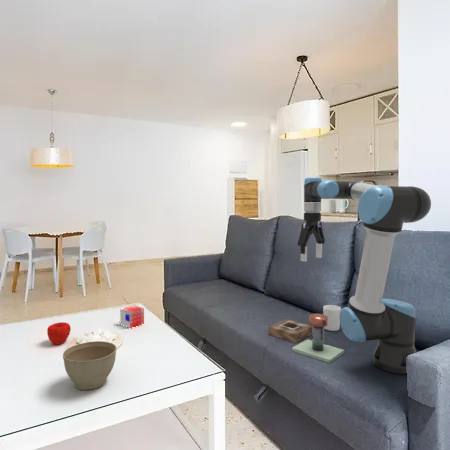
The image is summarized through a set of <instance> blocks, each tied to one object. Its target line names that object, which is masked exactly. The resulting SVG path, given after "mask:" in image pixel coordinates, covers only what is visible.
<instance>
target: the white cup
mask: <svg viewBox="0 0 450 450" xmlns="http://www.w3.org/2000/svg"><path fill="white" fill-rule="evenodd" d="M322 307H323V310H322V311H323V312H322V314H324V315H326V316H328V325H327V326H325V327H324V330H326V331H330V332H337V331H340V326H341V324H340V319H339V314H340V311H341V309H342V308H341V307H340V306H338V305H334V304H326V305H323V306H322Z"/></svg>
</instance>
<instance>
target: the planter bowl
mask: <svg viewBox="0 0 450 450" xmlns="http://www.w3.org/2000/svg"><path fill="white" fill-rule="evenodd" d="M117 350H118V349H117V346H116V344H114V343H113V342H110V341H102V340H101V341H99V340H98V341H97V340H96V341H87V342H82V343H78V344H75V345H72V346H69V348H67V349H65V350H64V351H63V353H62V359H63V364H64V369H65V372H66V374H67V376H68V377H69V379H70V380H71V382H73V383H74V387H75V389H78V390H83V391H87V390H94V389H97V388H99V387H101V386H103V385H105V383H106V382H107V379H108V377H109V375H110V374H111V372H112V371H113V368H114V365H115V362H116V358H117V357H116V353H117Z"/></svg>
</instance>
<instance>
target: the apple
mask: <svg viewBox="0 0 450 450" xmlns="http://www.w3.org/2000/svg"><path fill="white" fill-rule="evenodd" d="M71 328H72V327H71V325H70V324H69V323H68V322H56V323H52V324H50V325H49V326H48V327H47V330H46V332H47V333H46V334H47V338H48V340H49V341H50V343H51V344H52V345H57V346H58V345H61V344H64V343H65V342H66V341H67V340H68V338H69V336H70V334H71V330H72V329H71Z"/></svg>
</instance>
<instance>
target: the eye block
mask: <svg viewBox="0 0 450 450" xmlns="http://www.w3.org/2000/svg"><path fill="white" fill-rule="evenodd" d="M268 335H269V336H272V337H277V338H279V339H283V340H286V341H289V342H292V343H294V344H295V343H296V344H297V343H299V342H300V341H302V340H304V339H306V338H308V337H310V336H312V325H310V324H308V323H307V324H305V323H303V322H299V321H294V320H291V319H287V318H285V319H283V320H280V321H279V322H277V323H273V324H272V325H269V326H268Z"/></svg>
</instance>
